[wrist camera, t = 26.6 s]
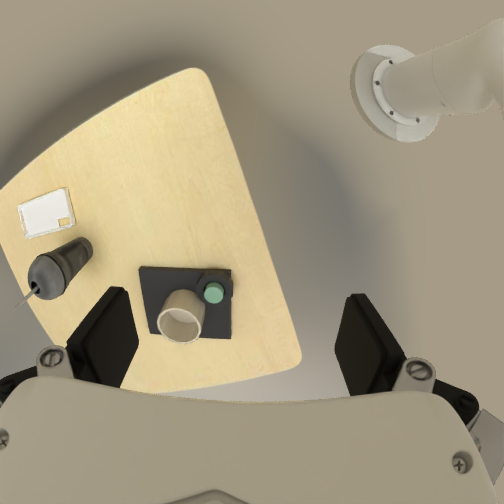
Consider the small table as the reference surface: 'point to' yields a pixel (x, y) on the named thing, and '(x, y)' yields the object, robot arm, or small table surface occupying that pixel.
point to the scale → (171, 279)
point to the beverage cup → (57, 269)
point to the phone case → (46, 213)
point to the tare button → (214, 292)
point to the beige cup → (182, 317)
